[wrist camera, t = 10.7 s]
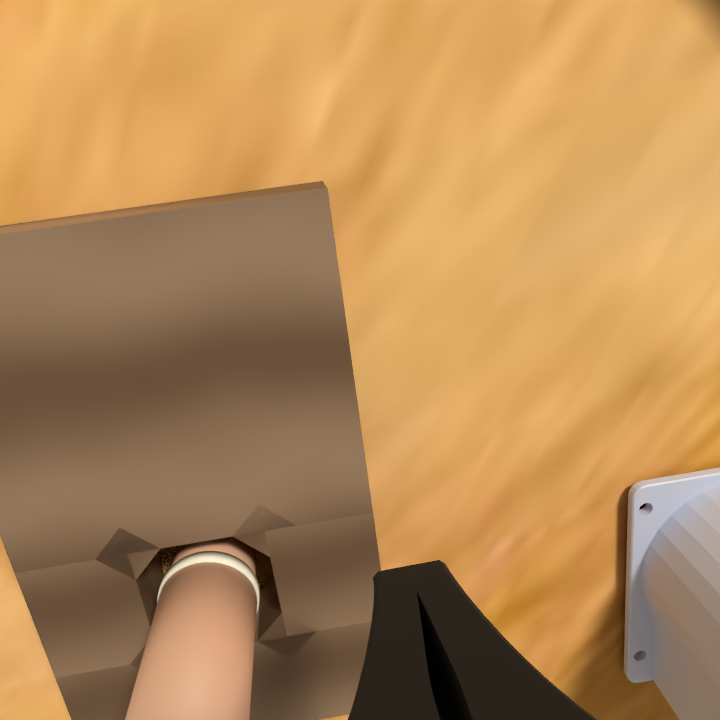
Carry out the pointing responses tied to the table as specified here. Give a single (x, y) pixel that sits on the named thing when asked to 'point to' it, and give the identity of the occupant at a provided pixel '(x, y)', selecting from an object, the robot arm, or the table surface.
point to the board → (185, 437)
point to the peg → (201, 636)
